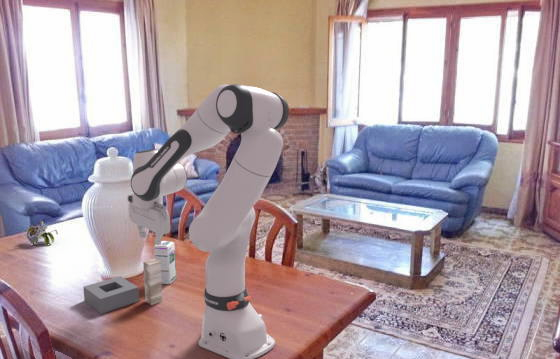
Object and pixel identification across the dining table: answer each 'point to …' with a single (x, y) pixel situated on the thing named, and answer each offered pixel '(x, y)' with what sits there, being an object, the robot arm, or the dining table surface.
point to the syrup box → (166, 261)
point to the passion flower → (39, 233)
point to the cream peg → (152, 281)
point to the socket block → (111, 294)
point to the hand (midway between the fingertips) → (150, 240)
